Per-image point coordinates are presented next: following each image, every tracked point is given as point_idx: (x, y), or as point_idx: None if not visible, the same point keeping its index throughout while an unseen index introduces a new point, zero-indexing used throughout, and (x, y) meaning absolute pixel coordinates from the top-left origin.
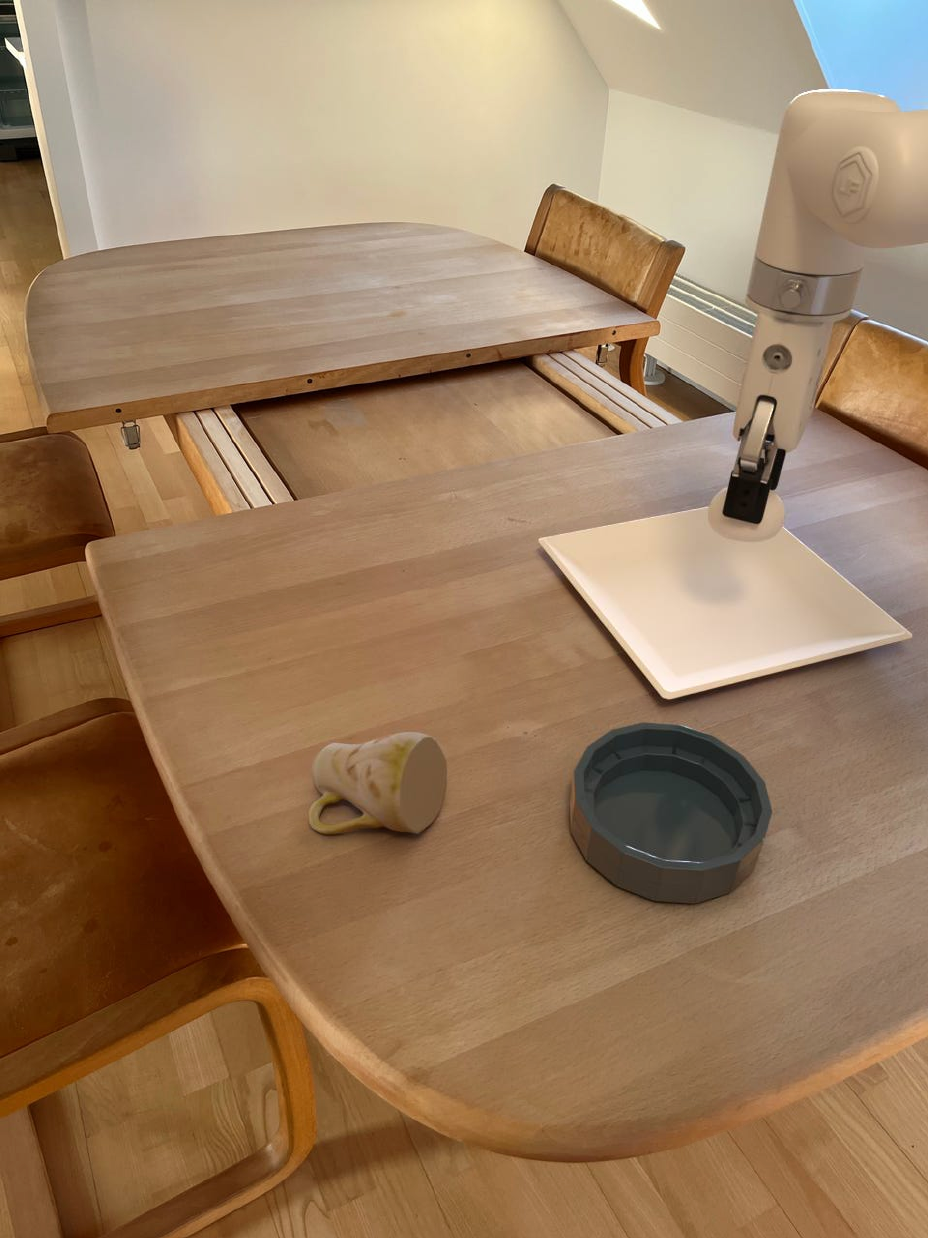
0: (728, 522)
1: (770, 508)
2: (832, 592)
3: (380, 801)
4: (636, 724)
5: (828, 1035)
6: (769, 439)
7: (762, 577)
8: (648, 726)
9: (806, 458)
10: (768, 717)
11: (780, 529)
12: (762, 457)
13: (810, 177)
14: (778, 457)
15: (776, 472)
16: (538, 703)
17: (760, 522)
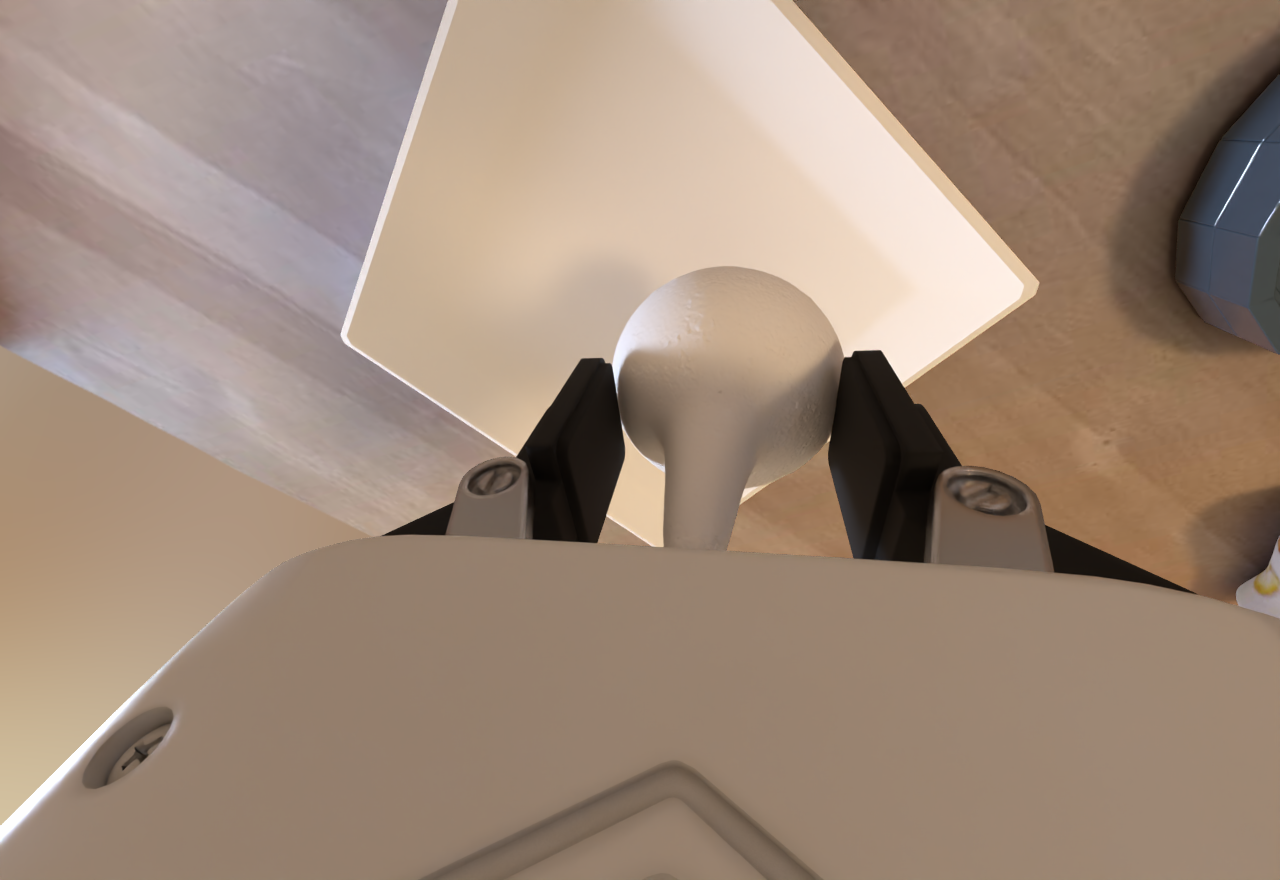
0: None
1: (781, 345)
2: (487, 75)
3: None
4: (1256, 317)
5: None
6: (558, 529)
7: (527, 242)
8: (1267, 294)
9: (120, 284)
10: (977, 66)
11: (739, 267)
12: (714, 520)
13: None
14: (577, 441)
15: (593, 400)
16: (1024, 447)
17: (878, 350)
